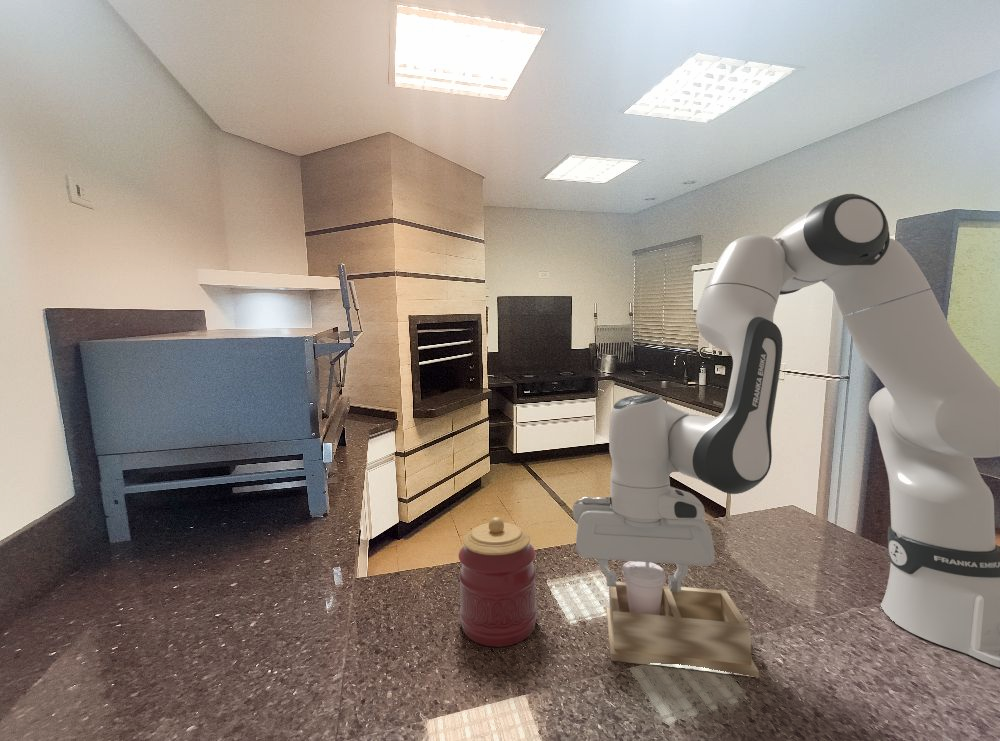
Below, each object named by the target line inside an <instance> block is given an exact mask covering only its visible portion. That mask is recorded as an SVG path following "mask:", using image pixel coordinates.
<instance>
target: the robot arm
mask: <svg viewBox="0 0 1000 741" xmlns="http://www.w3.org/2000/svg"><path fill="white" fill-rule="evenodd" d="M889 229H890V228H889V222H888V219H887V216H886V215H885V213H884V211H883V210H882V208H881V206H880V205H878V203H876V202H875V201H874V200H871V199H870V198H868V197H865V196H864V195H860V194H855V193H845V194H841V195H837V196H834V197H832V198H829V199H827V200H824V201H823V202H821V203H819V204H817V205H815V206H814V207H813V208H812V209H811V210H810V211H808V212H806V213H805V214H802V215H800V216H799V217H797V218H796V219H794V220H792V221H791V222H790V223H788V224H787V225H785V227H783V228H781V230H780V231H779V232H778V233H777V234H775V235H774V236H773V237H772V238H771V237H770V236H769V237H768V236H765V235H759V234H753V235H752V234H751V235H745V236H741V237H739V238H737V239H734V240H733V241H731V242H730V243H729V244H728V245H727V246H726V247H725V249H724V250H723V251H722V254H721V255H720V256H719V258H718V260H717V262H716V263H715V265H714V267H713V269H712V271H711V272H710V275H709V277H708V279H707V281H706V284H705V285H704V289H703V291H702V294H701V296H700V299H699V302H698V305H697V308H696V314H695V325H696V328H697V330H698V332H699V334H700V335H701V337H702V338H703V339H704V340H705V341H706V342H708V343H709V344H711V345H712V346H714V347H716V348H718V349H720V350H722V351H724V352H726V353H729V354H730V356H731V357H732V369H731V375H730V380H729V384H728V390H727V395H726V396H727V397H726V401H725V406H724V409H723V411H722V412H721V413H720V414H719V415H717V417H709V416H702V415H698V414H691V413H689V412H686V411H683V410H682V409H679V408H676V407H675V406H672V405H671V404H669V403H667V402H666V401H664V399H663V398H662V397H661V395H656V394H651V393H650V394H647V393H646V394H640V395H639V394H637V395H635V394H634V395H631V396H625V397H623V398H620V399H619V400H618V401H616V402H615V403H614V404H613V407H612V410H611V411H610V419H609V430H608V431H609V434H608V435H609V436H608V442H609V444H608V446H609V447H608V450H609V455H610V459H611V463H612V467H611V471H610V475H609V478H610V479H609V480H610V487H609V488H610V497H608V496H607V497H605V496H603V497H602V496H600V497H591V496H582V497H581V498H580V499H578V500H576V501H575V502H574V503H573V507H572V518H573V520H574V522H575V524H577V526H576V535H575V536H576V537H575V541H576V542H575V551H576V553H577V554H578V556H580V557H581V558H583V559H596V560H597V559H598V565H599V567H600V569H601V570H602V572H603V574H604V576H605V580H606V583H605V584H606V587H609V586H611V587H616V582H617V574H616V571H615V570H610V568H609V567H608V566H609V561H610V560H612V561H627V562H629V561H638V562H651V563H654V564H670V565H676V568H677V569H676V570H675V572H674V573H673V574H671V575H670V574H668V575H667V576H668V577H667V578H668V584H667V585H668V586H669V589H670V591H671V592H681V587H682V583H681V582H683V581H684V579H685V577H686V576H687V574H688V573H689V566H698V567H699V566H700V567H709V566H710V565H712V563H713V562H714V561H715V550H714V549H715V547H714V540H713V535H712V531H711V528H710V526H709V524H708V523H707V521H706V520H705V519H704V518H705V515H706V511H705V507H704V504H703V503H702V502H701V501H700V499H699V498H698V497H696V496H695V495H694V494H692V493H691V492H689V491H685V490H682V489H679V488H677V487H673V486H671V481H670V475H671V474H672V473H680V474H682V475H684V476H687V477H689V478H692V479H696V480H698V481H702V482H703V483H705V484H706V485H708V486H710V487H713V488H715V489H717V490H718V491H721V492H722V493H725V494H730V495H737V494H738V495H739V494H743V493H746V492H747V491H750V490H751V489H754V488H755V487H757V486H758V485H759V484H760V483H762V482H763V480H764V479H765V478H766V477H767V475H769V474H768V473H769V472H770V469H771V465H772V459H773V458H772V456H773V455H772V453H773V452H772V450H773V449H772V424H773V417H774V410H775V405H776V399H777V398H776V397H777V391H778V384H779V381H780V380H779V379H780V373H781V366H782V358H783V337H782V333H781V330H780V328H779V327H778V325H776V323H774V314H775V310H776V308H777V304H778V300H779V298H780V296H783V295H788V294H791V293H792V294H793V293H796V292H798V291H800V290H802V289H804V288H807V287H810V286H813V285H815V284H818V283H820V282H822V283H824V284H825V285H826V286H828V287H829V288H830V289H831V291H833V293H834V296H835V300H836V302H837V306H838V307H839V310H840V313H841V316H842V318H843V320H844V322H845V325H846V327H847V329H848V331H849V334H850V336H851V338H852V341H853V343H854V345H855V347H856V349H857V351H858V352H857V353H858V354H859V357H860V358H861V359H862V361H863V363H865V364H866V365H868V367H869V368H870V369H871V370H872V371H873V372H874V374H875V375H876V376H877V377H878V379H879V380H880V382H881V383H882V384H883V386H884V387H882V388H880V389H879V390H877V392H875V393H874V395H872V397H871V399H870V401H869V403H868V413H869V416H870V418H871V420H872V422H873V424H874V425H875V428H876V433H877V438H878V443H879V447H880V450H881V453H882V458H883V461H884V465H885V469H886V474H887V478H888V486H889V502H890V525H889V526H888V527H887V549H888V557H889V562H890V565H889V575H888V580H887V586H886V589H885V594H884V597H883V598H882V601H881V602H880V605H881V607H882V609H883V610H884V612H885V613H886V614H887V615H888V616H889V617H890V619H891V620H892V621H891V620H890V619H889V620H890V621H891V622H893V621H894V622H895V623H894V622H893V623H894V624H895V625H897V626H899V627H901V628H902V629H904V630H905V631H907V632H909V633H911V634H913V635H915V636H918V637H920V638H922V639H924V640H926V641H929V642H931V643H933V644H937V645H939V646H942V647H945V648H949V649H951V650H954V651H957V652H960V653H962V654H963V653H964V654H966V655H969V656H971V657H973V658H976V659H977V660H980V661H982V662H984V663H987V664H989V665H991V666H994V667H997V668H1000V545H998V544H996V530H995V529H996V526H995V523H996V522H995V499H994V495H993V493H992V491H991V489H990V487H989V486H988V485H987V483H986V482H985V481H984V479H983V477H982V476H981V474H980V471H979V470H978V467H977V465H976V463H975V460H974V459H979V458H980V459H981V458H982V459H983V458H985V459H986V458H998V457H1000V386H999V385H998V384H997V383H996V382H995V381H994V380H993V379H992V378H991V377H990V376H989V375H988V373H987V372H986V371H985V370H984V369H983V367H981V366H980V363H978V362H977V361H976V359H975V358H974V357H973V356H972V355H971V354H970V353H969V352H968V350H967V349H966V348H965V346H963V344H962V343H961V342H960V341H959V339H958V338H957V336H956V335H955V333H954V331H953V330H952V328H951V326H950V324H949V322H948V319H947V318H946V316H945V314H944V312H943V310H942V308H941V306H940V304H939V302H938V300H937V297H936V294H934V292H933V290H932V287H931V285H930V283H929V281H928V280H927V278H926V276H925V275H924V272H923V271H922V269H921V268H920V266H919V265H918V263H917V261H915V259H914V258H913V257H912V255H911V254H910V253H909V251H908V250H907V249H906V248H905V247H904V246H903V244H901V243H900V242H899V241H897V240H896V239H894V238H891V237H890V230H889ZM881 607H880V608H881Z"/></svg>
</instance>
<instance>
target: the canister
mask: <svg viewBox="0 0 1000 741" xmlns="http://www.w3.org/2000/svg"><path fill="white" fill-rule="evenodd" d="M462 542H463V546H461V548H460V550H459V551H458V555H457V556H458V561H459V562H460V564H461V568H460V569H459V572H458V579H459V584H460V585H459V586H460V587H459V590H460V591H459V592H460V593H459V595H460V608H459V620H460V623H461V628H462V631H463V633H464V635H465V636H466V637H467V638H468V639H469V640H471V641H473V642H475V643H477V644H480V645H483V646H487V647H496V648H497V647H498V648H499V647H507V646H512V645H514V644H515V645H516V644H518V643H520V642H523V641H524V640H525V639H527V638H528V637H529V636H531V634H532V633H533V632H534V630H535V627H536V623H537V617H538V607H537V603H536V602H537V599H536V597H537V596H536V577H537V570H536V568H535V566H534V564H533V562H534V560H535V558H536V553H537V552H536V549H535V547H534V546H533V545H532V544H531V543H530V542H531V537H530V534H529V533H528V532H527V531H526V530H524V529H522V528H521V527H519V526H518V525H516V524H513V523H509V522H504V520H503V518H501V517H499V516H494V517H491V518H490V520H489V521H488V522H486V523H482V524H479V525H477V526H475V527H474V528H473V529H472V530H470V531H469V532H467V533H466V534H465V535H464V537H463V538H462Z"/></svg>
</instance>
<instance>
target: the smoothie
mask: <svg viewBox="0 0 1000 741" xmlns="http://www.w3.org/2000/svg"><path fill="white" fill-rule="evenodd" d="M621 573H622V576H623V577H624V579H625V581H624V582H626V589H627V596H628V604H629V611H630V613H640V614H650V615H659V614H660V606H661V598H662V591H663V585H664V584H665V583H666V581H667V579H666V572H665V570H664V569H663V568H662V567H661V566H660V565H658V564H657V563H653V562H638V561H627V562H625V563H624V564H623V565H622V572H621Z"/></svg>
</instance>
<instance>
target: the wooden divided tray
mask: <svg viewBox="0 0 1000 741" xmlns="http://www.w3.org/2000/svg"><path fill="white" fill-rule="evenodd" d="M608 593H609V594H608V595H609V599H608V600H609V603H608V604H609V606H606V610H605V612H606V622H607V630H608V644H609V652H610V660H611V661H613V662H621V663H628V664H629V663H630V664H638V665H644V664H650V663H661V664H679V665H680V664H681V665H688V666H689V665H690V666H696V667H703V668H704V667H705V668H709V669H712V670H713V669H714V670H718V671H719V670H720V671H724V672H725V671H726V672H730V673H731V672H732V673H739V674H743V675H749V676H754V677H759V678H760V671H759V669H758V667H757V665H756V663H755V662H754V660H753V659H752V637H751V636H752V635H751V628H750V626H749V623H748V622H747V621H746V620H745V617H743V615H742V614H741V612H740V610H739V609H738V607H737V605H736V604H735V602H734V601H733V600H732V597H731V596H730V595H729V593H728V592H727V590H726V589H725V590H723V589H713V588H712V589H710V588H698V587H687V586H681V592H671V591H670V589H669V585H664V584H663V591H662V598H661V606H660V614H659V615H650V614H640V613H630V611H629V604H628V596H627V589H626V581H624V582H623V581H616V587H611V586H608Z"/></svg>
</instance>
